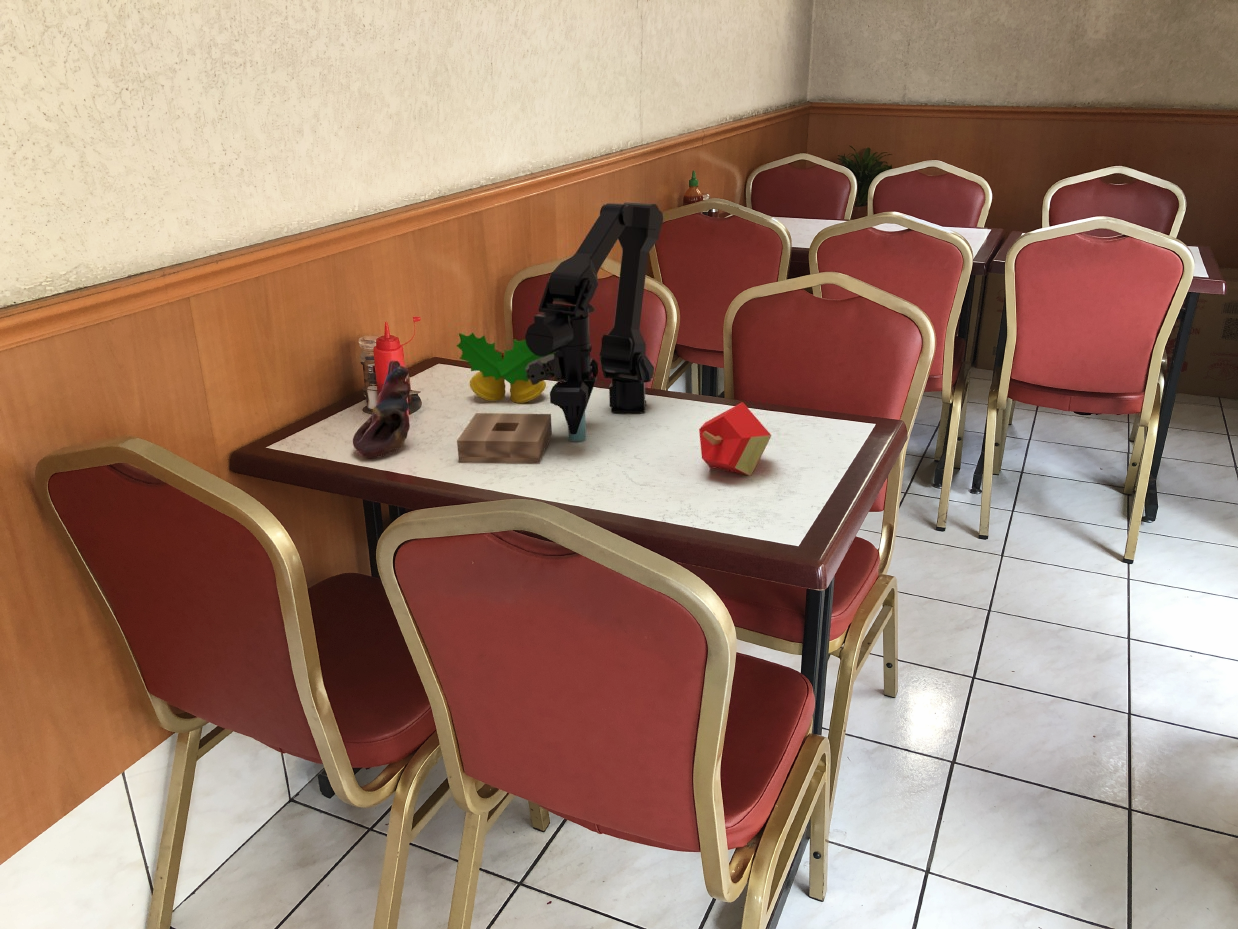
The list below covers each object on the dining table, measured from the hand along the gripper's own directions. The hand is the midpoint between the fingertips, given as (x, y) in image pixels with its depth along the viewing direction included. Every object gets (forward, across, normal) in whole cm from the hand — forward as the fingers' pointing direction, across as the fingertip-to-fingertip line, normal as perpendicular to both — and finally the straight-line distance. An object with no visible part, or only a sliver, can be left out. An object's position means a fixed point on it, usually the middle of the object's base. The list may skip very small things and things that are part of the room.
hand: (576, 425), depth 175 cm
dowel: (+2, 0, 0) cm, 2 cm away
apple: (+3, +13, +28) cm, 31 cm away
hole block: (+2, +5, -12) cm, 13 cm away
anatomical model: (+3, +6, -34) cm, 35 cm away
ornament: (+3, -22, -16) cm, 27 cm away
